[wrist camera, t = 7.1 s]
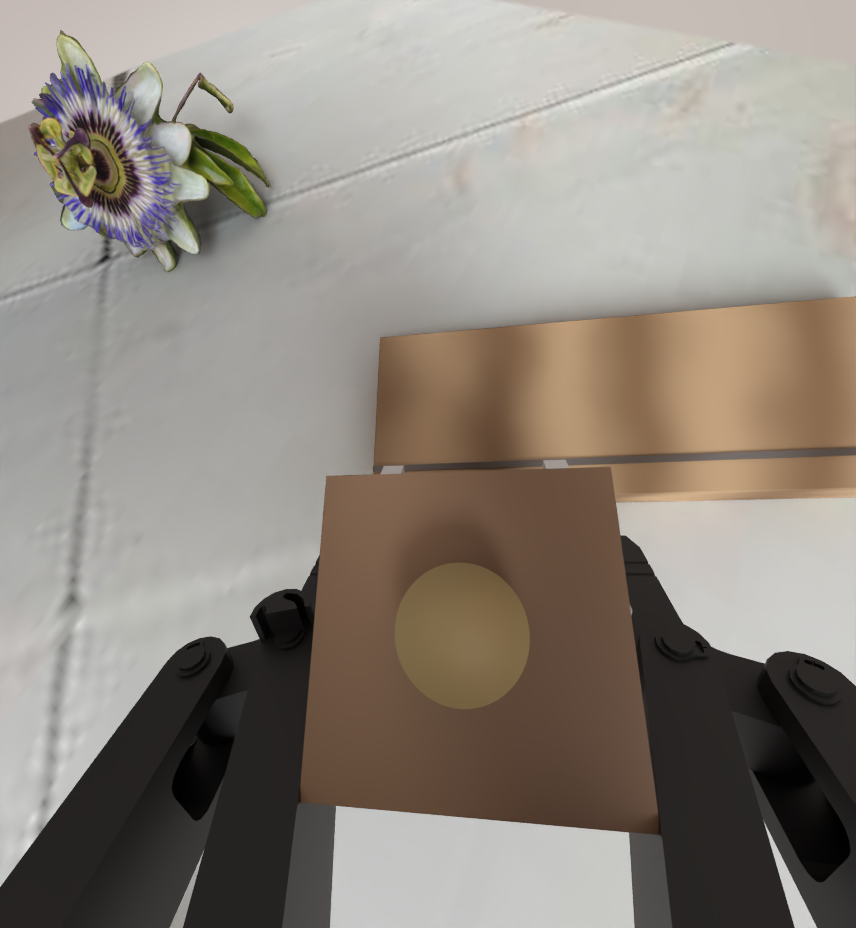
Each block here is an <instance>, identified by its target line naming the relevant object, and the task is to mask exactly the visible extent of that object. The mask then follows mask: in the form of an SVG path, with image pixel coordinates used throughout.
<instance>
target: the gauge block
mask: <svg viewBox="0 0 856 928" xmlns="http://www.w3.org/2000/svg"><path fill="white" fill-rule="evenodd" d="M300 796H301V803H312V804H323V805H334V806H345V807H356V808H367V809H378V810H389V811H400V812H411V813H422V814H433V815H444V816H455V817H466V818H477V819H488V820H499V821H510V822H521V823H532V824H543V825H554V826H565V827H576V828H587V829H598V830H609V831H620V832H631V833H642V834H653V835H659V815H658V807H657V800H656V793H655V785H654V778H653V771H652V764H651V756H650V749H649V742H648V734H647V727H646V720H645V712H644V705H643V698H642V690H641V683H640V676H639V668H638V661H637V654H636V647H635V639H634V632H633V625H632V617H631V610H630V603H629V595H628V588H627V581H626V573H625V566H624V559H623V551H622V544H621V537H620V530H619V522H618V515H617V508H616V500H615V493H614V486H613V478H612V471H611V467H586V468H555V469H525V470H495V471H465V472H435V473H404V474H374V475H344V476H326V488H325V500H324V511H323V523H322V535H321V547H320V559H319V571H318V582H317V594H316V606H315V618H314V630H313V641H312V653H311V665H310V677H309V689H308V701H307V712H306V724H305V736H304V748H303V760H302V772H301V783H300Z"/></svg>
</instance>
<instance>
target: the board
mask: <svg viewBox="0 0 856 928" xmlns="http://www.w3.org/2000/svg"><path fill="white" fill-rule="evenodd" d="M543 460H566V462H567V464H568V466H569V468H586V467H611V471H612V478H613V486H614V493H615V500H616V502H653V501H699V500H744V499H790V498H836V497H856V296H855V297H844V298H832V299H820V300H809V301H797V302H786V303H774V304H763V305H751V306H740V307H728V308H717V309H705V310H694V311H682V312H671V313H659V314H648V315H636V316H625V317H613V318H602V319H590V320H578V321H567V322H555V323H544V324H532V325H521V326H509V327H498V328H486V329H475V330H463V331H452V332H440V333H429V334H417V335H406V336H394V337H383V338H380V353H379V373H378V393H377V413H376V434H375V454H374V466H373V472H374V474H381V471H382V469H383V467H384V466H400V465H404V471H405V473H435V472H465V471H495V470H525V469H543ZM374 474H373V475H374Z"/></svg>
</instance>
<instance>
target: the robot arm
mask: <svg viewBox="0 0 856 928" xmlns="http://www.w3.org/2000/svg"><path fill="white" fill-rule="evenodd" d="M555 468H569V466H568V464H567V462H566V460H543V469H555ZM404 473H405V471H404V465H400V466H384V467H383V469H382V471H381V474H404ZM620 537H621V544H622V551H623V559H624V566H625V573H626V581H627V588H628V595H629V603H630V610H631V617H632V625H633V632H634V639H635V647H636V654H637V661H638V668H639V676H640V683H641V690H642V698H643V705H644V712H645V720H646V727H647V734H648V742H649V749H650V756H651V764H652V771H653V778H654V785H655V793H656V800H657V807H658V815H659V835H653V834H642V833H631V832H629V838H630V855H631V872H632V889H633V906H634V923H635V928H794V924H793V921H792V917H791V914H790V910H789V907H788V904H787V900H786V897H785V893H784V890H783V886H782V883H781V880H780V876H779V873H778V869H777V866H776V862H775V859H774V855H773V852H772V849H771V845H770V842H769V838H768V835H767V831H766V828H765V825H764V822H765V824H766V826H767V828H768V830H769V832H770V834H771V836H772V838H773V840H774V842H775V844H776V846H777V848H778V850H779V852H780V854H781V856H782V858H783V860H784V862H785V864H786V866H787V868H788V870H789V872H790V874H791V876H792V878H793V880H794V882H795V884H796V886H797V888H798V890H799V892H800V894H801V896H802V898H803V900H804V902H805V904H806V906H807V908H808V910H809V912H810V914H811V916H812V918H813V920H814V922H815V924H816V926H817V928H856V686H855V685H854V684H853V683H852V682H851V681H850V680H848V679H847V678H846V677H845V676H844V675H843V674H842V673H841V672H839V671H837V670H836V669H834V668H833V667H831V666H829V665H828V664H826V663H825V662H823V661H820V660H818V659H815V658H813V657H810V656H808V655H805V654H801V653H795V652H790V651H786V652H778V653H774V654H773V655H772V656H771V657H769V658H768V659H767V661H766V663H765V664H764V663H760V662H756V661H753V660H749V659H746V658H742V657H738V656H735V655H731V654H728V653H725V652H722V651H720V650H717V649H715V648H713V647H711V646H710V644H709V643H708V642H707V641H706V640H705V639H704V638H703V637H702V636H701V635H700V634H699V633H698V632H696V631H695V630H693V629H691V628H690V627H688V626H686V625H684V624H683V623H682V621H681V619H680V618H679V616H678V614H677V612H676V611H675V609H674V607H673V605H672V604H671V602H670V600H669V598H668V596H667V595H666V593H665V591H664V589H663V588H662V586H661V584H660V582H659V580H658V579H657V577H656V576H655V575H654V572H653V570H652V568H651V566H650V565H649V564H648V561H647V559H646V557H645V556H644V554H643V552H642V550H641V549H640V547H639V546H637V545H636V544H635V543H634V542H633V541H631V540H630V539H629V538H628V537H627V536H620ZM319 559H320V555H319V557H318V559H317V561H316V565H315V566H314V567H313V569H312V571H311V573H310V576H309V577H308V579H307V581H306V583H305V585H304V587H303V589H302V591H300V590H297V589H285V590H282V591H279V592H275V593H273V594H271V595H270V596H268V597H266V598H265V599H263V600H262V601H261V602H260V603H259V604H258V605H257V606H256V607H255V608H254V610H253V612H252V614H251V615H250V618H251V621H252V623H253V625H254V627H255V630H256V632H257V634H258V636H259V638H260V639H259V640H256V641H253V642H249V643H245V644H241V645H238V646H234V647H230V648H227V647H226V645H225V644H224V643H223V641H222V640H221V639H220V638H216V637H204V638H199V639H197V640H195V641H192V642H190V643H188V644H186V645H185V646H184V647H182V648H181V649H179V650H178V651H177V652H176V653H175V654H174V655H173V656H172V657H171V658H170V659H169V660H168V661H167V662H166V664H165V665H164V666H163V668H162V669H161V670H160V672H159V673H158V675H157V676H156V677H155V679H154V680H153V681H152V683H151V684H150V685H149V687H148V688H147V689H146V691H145V692H144V693H143V695H142V696H141V698H140V699H139V700H138V702H137V703H136V704H135V706H134V707H133V708H132V710H131V711H130V712H129V714H128V715H127V716H126V718H125V719H124V721H123V722H122V723H121V725H120V726H119V727H118V729H117V730H116V731H115V733H114V734H113V735H112V737H111V738H110V739H109V741H108V742H107V744H106V745H105V746H104V748H103V749H102V750H101V752H100V753H99V754H98V756H97V757H96V758H95V760H94V761H93V762H92V764H91V765H90V767H89V768H88V769H87V771H86V772H85V773H84V775H83V776H82V777H81V779H80V780H79V781H78V783H77V784H76V785H75V787H74V788H73V790H72V791H71V792H70V794H69V795H68V796H67V798H66V799H65V800H64V802H63V803H62V804H61V806H60V807H59V808H58V810H57V811H56V813H55V814H54V815H53V817H52V818H51V819H50V821H49V822H48V823H47V825H46V826H45V827H44V829H43V830H42V831H41V833H40V834H39V836H38V837H37V838H36V840H35V841H34V842H33V844H32V845H31V846H30V848H29V849H28V850H27V852H26V853H25V854H24V856H23V857H22V859H21V860H20V861H19V863H18V864H17V865H16V867H15V868H14V869H13V871H12V872H11V873H10V875H9V876H8V877H7V879H6V880H5V882H4V883H3V884H2V886H1V887H0V928H169V927H170V925H171V923H172V921H173V918H174V916H175V914H176V912H177V909H178V907H179V905H180V903H181V900H182V898H183V896H184V893H185V891H186V889H187V887H188V884H189V882H190V880H191V878H192V875H193V873H194V871H195V869H196V866H197V864H198V862H199V860H200V857H201V855H202V853H203V851H204V853H203V856H202V860H201V864H200V867H199V871H198V875H197V878H196V882H195V886H194V889H193V893H192V897H191V900H190V904H189V908H188V911H187V915H186V919H185V922H184V926H183V928H330V911H331V891H332V871H333V851H334V832H335V812H336V806H334V805H323V804H312V803H301V796H300V783H301V772H302V760H303V748H304V736H305V724H306V712H307V701H308V689H309V677H310V665H311V653H312V641H313V630H314V618H315V606H316V594H317V582H318V571H319ZM763 820H764V821H763ZM204 848H205V849H204Z"/></svg>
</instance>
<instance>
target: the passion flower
mask: <svg viewBox="0 0 856 928" xmlns="http://www.w3.org/2000/svg"><path fill="white" fill-rule="evenodd" d="M57 51H58V55H59V57H60V60H61V63H62V68H61V72H60V73H61V79H60V80H59V79H58V78H57V77H56V75H55V74H54V73H51V74H50V81H51V83H52V84H51V85H49V84H47V83H46V86H44V87H43V88H42V93H41V94H39V96H40V98H41V99H34V100H33V101H32V103H33V104H34V106H36V109H37V110H38V111H39V112H40V113H42V114H43V115H44V117H43V121H42V122H41V125H38V124H36V123H33V124H31V125H29V131H30V134H31V137H32V140H33V142H34V144H35V147H36V151H37V152H35V153H34V155H37V156H38V159H39V161H40V163H41V165H42V166H43V168H44V169H45V170H46V171H47V172H48V173H49V174H50V176H51V177H52V179H53V182H52V183H50V186H51V188H52V189H53V191H54V193H55V195H56V197H57V199H58V200H59V201H60V202H61V203H62V204H64V206H63V209H62V213H61V218H60V220H61V225H62V226H63V227H64V228H66V229H68V230H82V229H85V228H86V227H87V226H90V227H92V228H93V229H95V230H96V232H97V233H99V234H101V235H103V236H105V237H107V238H109V239H115V238H117V239H118V240H120V241H122V242H124V243H125V245H126V246H127V248H128V249H129V250H130V252H131V254H133V256H135V257H137V258H139V256H140V255H143V254H144V253H145V252H146V251H147V250H152V252H153V253H154V254H155V255H156V257H157V259H158V261H159V262H160V263H161V265H162V266H163V267H164V270H165V271H166V272H169V271H171V270H173V269H174V268H175V266H176V257H177V252H176V251H175V249H174V247H173V246H172V244H171V242H170V240H172V241H173V242H175V243H176V244H177V245H178V247H180V248H182V249H183V250H184V251H186V252H189V253H191V254H195V255H198V254H199V252H200V249H201V239H200V235H199V233H198V231H197V229H196V228H195V226H194V224H193V222H192V221H191V219H190V218H189V217H188V215H187V213H186V210H185V208H184V203H186V202H189V201H193V202H194V201H200V200H205V199H206V198H207V197H208V196H209V190H210V185H209V184H208V182H209V183H210V184H211V185H212V186H214V187H215V188H216V189H217V190H218V191H219V192H220V193H221V194H223V195H224V196H226V197H227V198H228V199H229V200H230V201H232V202H233V203H234V204H236V205H237V206H238V207H239V208H241V209H242V210H243V211H244V212H246V213H247V214H249V215H251V216H252V217H253V218H258V217H260V216H263V217H264V216H265V215H266V214H267V210H266V208H265V206H264V205H263V201H262V199H261V198H260V196H259V195H258V193H257V192H256V190H255V188H254V187H253V185H252V184H251V183H250V182H249V180H248V179H247V178H246V176H245V175H244V174H243V173H242V172H241V171H240V170H239V169H238V168H236V167H234V166H232V165H231V164H229V163H227V162H226V161H224V160H223V159H222V158H220V157H219V156H217V155H215V154H213V153H211V152H209V151H208V150H211V151H213V152H215V153H218V154H221V155H223V156H225V157H227V158H229V159H231V160H232V161H233V162H235V163H237V164H239V165H240V166H242V167H244V168H245V169H246V170H247V171H250V172H251V173H253V174H254V175H256V176H257V177H258V178H260V179H261V180H262V181H263V182H264V183H265V184H266V186H267V187H270V183H269V181H268V180H267V179H266V177H265V175H264V174H263V171H262V170H261V168H260V166H259V164H258V162H257V160H256V159H255V158H253V157H252V156H251V154H250V152H249V151H248V150H247V149H246V148H245V147H244V146H243V145H241V144H239V143H238V142H236V141H235V140H233V139H231V138H228V137H226V136H224V135H222V134H219V133H217V132H212V131H207V130H205V129H200V128H198V127H197V126H195V125H193V124H185V125H184V124H183V123H181V122H176V117H177V115H178V114H179V112H180V110H181V109H182V107H183V106H184V104H185V102H186V100H187V98H188V97H189V95H190V93H191V92H192V91H193V89H194V87H195V85H196V83H197V82H198V80H200V81H199V82H198V87H199V88H201V89H203V90H205V91H207V92H208V93H210V94H211V95H213V96H214V97H216V98H217V99H218V100H219V101H220V103H221V104H222V105H223V106H224V108H225V109H226V110H227V112H228V113H232V111H233V104H232V102H231V101H230V100H229V99H228V98H227V97H226V96H225V95H223V94H222V93H221V92H220V91H219V90H218V89H217V88H216V87H215V86H214V85H212V84H210V83H209V82H208V81H207V80H206V79H205V78H204V76H203V75H202V74H201V73H199V74H198V75H197V77H196V79H195V80H194V81H193V83H192V84H191V86H190V87H189V89H188V91H187V93H186V94H185V96H184V97H183V99H182V101H181V102H180V104H179V106H178V109H177V111H176V113H175V115H174V117H173V119H172V121H170V122H167V121H164V120H163V119H162V118H161V117H160V116H159V106H160V102H161V95H162V89H163V84H162V80H161V78H160V76H159V73H158V71H157V70H156V68H155V67H154V66H153V65H152V64H151V63H149V62H145V63H143V65H142V66H141V67H140V68H138V69H137V70H136V71H134V72H133V73H131V74H130V76H129V77H128V79H127V81H126V82H125V83H124V84H123V85H122V86H120V87H119V88H118V89H117V91H116V92H115V94H114V95H113V88H111V93H110V95H109V94H108V92H107V89H106V86H105V83H104V82H103V83H102V81H101V78H100V76H99V74H98V72H97V70H96V68H95V66H94V64H93V62H92V60H91V58H90V57H89V56H88V55H87V53H86V52H85V50H84V49H83V48H82V46H81V45H80V43H79V42H78V41H77V40H76V39H75V38H73V37H71V36H67V35H66V34H64V32H63V31H60V35H59V36H58V38H57ZM204 148H206V149H208V150H206V149H204Z"/></svg>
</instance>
